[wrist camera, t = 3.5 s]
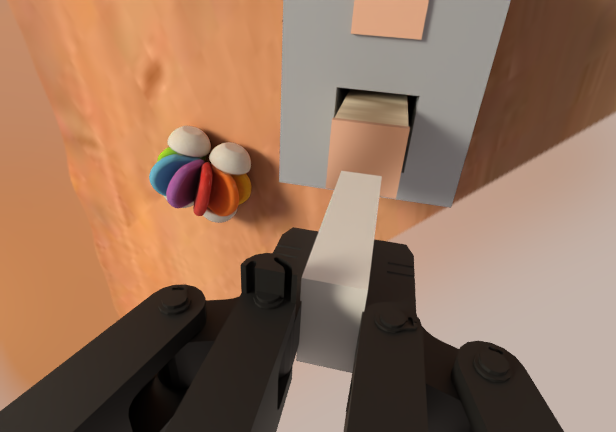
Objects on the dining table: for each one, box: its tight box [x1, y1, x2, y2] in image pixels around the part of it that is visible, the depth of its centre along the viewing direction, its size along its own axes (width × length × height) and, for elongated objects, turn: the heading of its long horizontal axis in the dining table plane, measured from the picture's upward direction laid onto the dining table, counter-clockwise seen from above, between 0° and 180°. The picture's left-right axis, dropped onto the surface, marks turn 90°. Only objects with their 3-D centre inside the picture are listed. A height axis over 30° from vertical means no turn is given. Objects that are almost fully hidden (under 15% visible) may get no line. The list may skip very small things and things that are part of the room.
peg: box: [326, 89, 410, 199], centre depth 24 cm, size 4×4×9 cm
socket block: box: [279, 0, 511, 207], centre depth 27 cm, size 12×16×10 cm
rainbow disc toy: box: [149, 126, 252, 223], centre depth 37 cm, size 8×10×7 cm
